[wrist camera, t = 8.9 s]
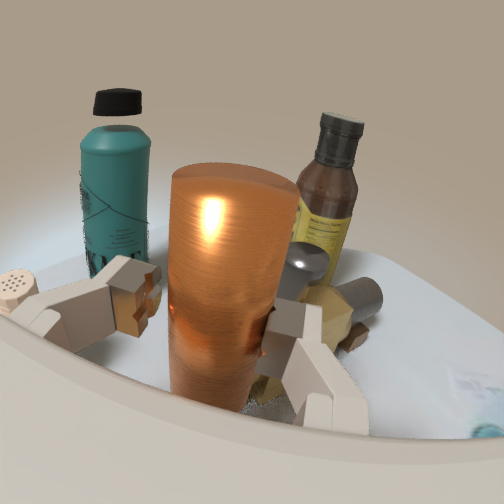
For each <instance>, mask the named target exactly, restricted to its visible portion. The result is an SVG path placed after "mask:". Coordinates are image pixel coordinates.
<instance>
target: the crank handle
mask: <svg viewBox="0 0 504 504" xmlns="http://www.w3.org/2000/svg"><path fill="white" fill-rule="evenodd" d="M300 196H301V192H300V189H299V188H298V187H297V186H296V185H295V184H294V183H293V182H291V181H290V180H288V179H286V178H284V177H282V176H280V175H278V174H275V173H272V172H270V171H267V170H264V169H260V168H256V167H251V166H246V165H240V164H232V163H198V164H192V165H188V166H185V167H182V168H180V169H178V170H176V171H175V172H174V173H173V175H172V185H171V200H170V220H169V247H168V344H169V370H170V389H171V393H173V394H176V395H179V396H182V397H185V398H188V399H191V400H194V401H198V402H201V403H204V404H208V405H211V406H215V407H218V408H222V409H226V410H229V411H233V412H237V413H238V412H240V411H241V410H242V408H243V407H244V406H245V404H246V402H247V400H248V396H249V393H250V390H251V386H252V382H253V379H254V375H255V373H254V371H255V367H256V363H257V359H258V355H259V351H260V347H261V343H262V340H263V336H264V332H265V328H266V324H267V321H268V317H269V314H270V313H271V312H272V309H273V305H274V302H275V298H276V297H279V298H283V299H287V300H291V301H296V302H300V300H301V298H302V297H303V295H304V293H305V292H306V290H307V288H308V287H313V286H318V285H320V284H321V283H322V282H323V281H324V278H325V275H326V272H327V269H328V266H329V263H330V256H329V254H328V253H327V252H326V251H325V250H323V249H322V248H320V247H318V246H316V245H314V244H311V243H307V242H300V241H296V242H290V238H291V234H292V230H293V226H294V222H295V218H296V213H297V209H298V205H299V201H300ZM289 242H290V243H289Z"/></svg>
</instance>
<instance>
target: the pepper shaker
mask: <svg viewBox="0 0 504 504" xmlns="http://www.w3.org/2000/svg"><path fill="white" fill-rule="evenodd" d="M36 294H39V291H38V287H37V283H36V279H35V277H34V276H33V274H32V273H31V272H30V271H27V270H23V269H19V270H11V271H9V272H7V273H5V274H3V275H1V276H0V312H1V314H2V315H4V316H5V317H8V316H9V315H10V314H11V313H12V312H13V311H14V310H15V309H16V308H17V307H18V306H19V305H20V304H21V303H22V302H23V301H24V300H25V299H26V298H27V297H29V296H33V295H36Z"/></svg>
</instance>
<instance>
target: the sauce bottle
mask: <svg viewBox="0 0 504 504" xmlns="http://www.w3.org/2000/svg"><path fill="white" fill-rule="evenodd" d="M320 127H321V132H320V136H319V141H318V145H317V149H316V151H315V159H314V160H313V161H312V162H311V163H310V164H309V165H308V166H307V167H306V168H305V169H304V170H303V171H302V172H301V174H300V175H299V178H298V180H297V182H296V186H297V187H298V188H299V189H300V192H301V196H300V201H299V205H298V209H297V213H296V218H295V222H294V226H293V230H292V234H291V238H290V242H296V241H300V242H307V243H311V244H314V245H316V246H318V247H320V248H322V249H323V250H325V251H326V252H327V253H328V254H329V256H330V263H329V266H328V269H327V272H326V275H325V278H324V281H323V282H322V283H323V284H325V285H329V284H330V281H331V279H332V276H333V273H334V270H335V267H336V264H337V261H338V258H339V255H340V252H341V249H342V246H343V243H344V240H345V237H346V233H347V230H348V227H349V224H350V221H351V217H352V211H353V207H354V203H355V201H356V197H357V194H358V186H357V183H356V180H355V177H354V174H353V170H352V167H353V164H354V161H355V160H354V158H355V154H356V149H357V145H358V141H359V139H360V138H361V136H362V135H363V129H364V123H363V122H362V121H360V120H357V119H355V118H351V117H347V116H344V115H340V114H335V113H331V112H323V113H322V116H321V121H320ZM290 242H289V243H290Z"/></svg>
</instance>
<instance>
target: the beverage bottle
mask: <svg viewBox="0 0 504 504" xmlns="http://www.w3.org/2000/svg"><path fill="white" fill-rule="evenodd" d="M141 96H142V93H141V91H139V90H133V89H125V88H115V89H108V90H102V91H98V92H97V93H96V98H95V104H94V108H93V115H96V116H129V115H137V114H141V113H142V105H141V101H142V97H141ZM150 147H151V140H150V138H149V137H148V136H147V135H146V134H145V133H144V132H143V131H142V130H141V129H140V128H138V127H136V126H130V125H108V126H102V127H97V128H95V129H92V130H91V131H90V132H89V133H88V134H87V135H86V136H85V138H84V139H83V140H82V142H81V144H80V148H81V174H80V176H81V189H80V190H81V191H82V204H83V206H82V208H83V218H84V221H83V222H84V229H85V237H84V238H85V240H86V242H85V243H86V247H85V249H86V261H87V256H88V261H87V262H88V263H87V264H89V266H88V267H89V271H90V275H89V276H90V278H91V279H93V278H94V277H95V276H96V275H97V274H98V273H99V272H100V271H101V270H102V269H103V268H104V267H105V266H106V265H107V264H108V263H109V262H110V261H111V260H112V259H113V258H115V257H116V256H117V255H123V256H126V257H129V258H132V259H136V260H139V261H143V262H146V263H148V260H149V259H148V257H147V250H148V249H147V246H148V245H147V242H148V240H147V235H149V234H147V223H148V222H147V194H148V172H149V155H150ZM84 229H83V230H84ZM148 237H149V236H148ZM148 239H149V238H148ZM148 248H149V247H148ZM148 254H149V253H148ZM88 273H89V272H88ZM90 278H89V279H90Z"/></svg>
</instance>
